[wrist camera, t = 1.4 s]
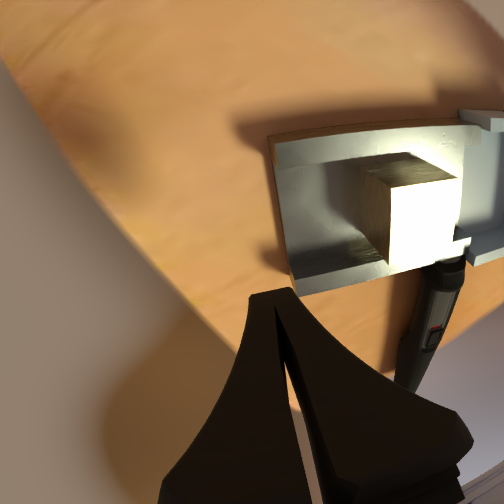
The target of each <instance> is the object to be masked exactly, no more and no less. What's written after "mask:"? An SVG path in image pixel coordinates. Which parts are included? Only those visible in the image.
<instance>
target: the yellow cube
mask: <svg viewBox="0 0 504 504" xmlns="http://www.w3.org/2000/svg"><path fill="white" fill-rule="evenodd" d="M360 179H361V203H362V234H363V235H364V236H365V237H366V239H367V240H368V241H369V242H370V243H371V245H372V246H373V247H374V248H375V249H376V251H377V252H378V253H379V254H380V255H381V257H382V258H383V259H384V260H385V262H386V263H387V264H388V265H389V266H390V265H394V264H398V263H402V262H406V261H410V260H413V259H417V258H421V257H425V256H428V255H432V254H436V253H439V252H443V251H447V250H450V249H451V245H452V238H453V231H454V224H455V216H456V206H457V196H458V184H459V178H457V177H455V176H454V175H452V174H450V173H448V172H446V171H444V170H443V169H441V168H439V167H437V166H435V165H433V164H431V163H429V162H427V161H425V160H423V159H413V160H405V161H397V162H389V163H381V164H374V165H367V166H360Z"/></svg>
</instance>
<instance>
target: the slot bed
mask: <svg viewBox="0 0 504 504" xmlns="http://www.w3.org/2000/svg"><path fill="white" fill-rule="evenodd" d="M268 142H269V148H270V154H271V159H272V165H273V171H274V178H275V184H276V190H277V196H278V202H279V209H280V215H281V222H282V228H283V235H284V242H285V249H286V255H287V262H288V270H289V276H290V279H291V282H292V285H293V288H294V291H295V294H296V295H297V296H298V297H302V296H306V295H311V294H315V293H319V292H324V291H328V290H332V289H337V288H341V287H345V286H349V285H353V284H357V283H361V282H365V281H369V280H373V279H377V278H381V277H385V276H389V275H392V274H396V273H400V272H404V271H407V270H411V269H415V268H418V267H422V266H425V265H429V264H432V263H435V262H437V261H443V260H446V259H450V258H453V257H457V256H460V255H463V254H467V253H469V248H470V243H471V236H470V235H468V234H467V233H466V232H465V231H463V230H462V229H461V228H460V227H458V220H459V212H460V203H461V192H462V180H463V162H464V146H481V125H479V124H476V123H473V122H469V121H466V120H463V119H459V118H449V119H416V120H398V121H384V122H371V123H361V124H351V125H342V126H333V127H325V128H318V129H310V130H303V131H297V132H290V133H284V134H278V135H272V136H268ZM413 159H423V160H425V161H427V162H429V163H431V164H433V165H435V166H437V167H439V168H441V169H443V170H444V171H446V172H448V173H450V174H452V175H454V176H455V177H457V178H459V184H458V196H457V206H456V216H455V224H454V231H453V238H452V245H451V249H450V250H447V251H443V252H439V253H436V254H432V255H428V256H425V257H421V258H417V259H413V260H410V261H406V262H402V263H398V264H394V265H390V266H389V265H388V264H387V263H386V262H385V260H384V259H383V258H382V257H381V255H380V254H379V253H378V252H377V251H376V249H375V248H374V247H373V246H372V245H371V243H370V242H369V241H368V240H367V239H366V237H365V236H364V235H363V234H362V203H361V179H360V166H367V165H374V164H381V163H389V162H397V161H405V160H413Z"/></svg>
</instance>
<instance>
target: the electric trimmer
mask: <svg viewBox="0 0 504 504" xmlns="http://www.w3.org/2000/svg"><path fill="white" fill-rule="evenodd" d="M465 266H466V258H465V254H463V255H460V256H457V257H453V258H450V259H446V260H443V261H437V262H435V263H432V264H429V265H425V266H422V267H420V269H421V272H422V280H421V284H420V289H419V294H418V298H417V303H416V307H415V311H414V315H413V319H412V323H411V327H410V330H409V331H408V332H407V333H406V334H405V335H404V336H403V337H402V338H401V339H400V343H399V348H398V355H397V363H396V370H395V376H394V382H395V383H397V384H398V385H400V386H402V387H403V388H405V389H407V390H409V391H411V392H413V393H415V392H416V390H417V388H418V386H419V384H420V382H421V380H422V378H423V376H424V374H425V372H426V370H427V368H428V365H429V363H430V361H431V359H432V357H433V355H434V353H435V351H436V349H437V347H438V345H439V343H440V341H441V339H442V337H443V334H444V332H445V329H446V327H447V324H448V322H449V319H450V317H451V314H452V311H453V309H454V306H455V303H456V301H457V298H458V295H459V292H460V289H461V287H462V286H463V283H464V278H465Z"/></svg>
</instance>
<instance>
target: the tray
mask: <svg viewBox="0 0 504 504" xmlns="http://www.w3.org/2000/svg"><path fill="white" fill-rule="evenodd" d="M459 119H463V120H466V121H469V122H473V123H476V124H479V125H481V146H464V162H463V180H462V192H461V203H460V212H459V220H458V227H460V228H461V229H462V230H463V231H465V232H466V233H467V234H468V235H470V236H471V243H470V248H469V253H467V254H465V258H466V260H467V261H468V262H469V263H470V264H471V265H472V266H473V267H475V266H478V265H480V264H483V263H486V262H489V261H492V260H495V259H498V258H500V257H503V256H504V111H495V110H475V109H459Z"/></svg>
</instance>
